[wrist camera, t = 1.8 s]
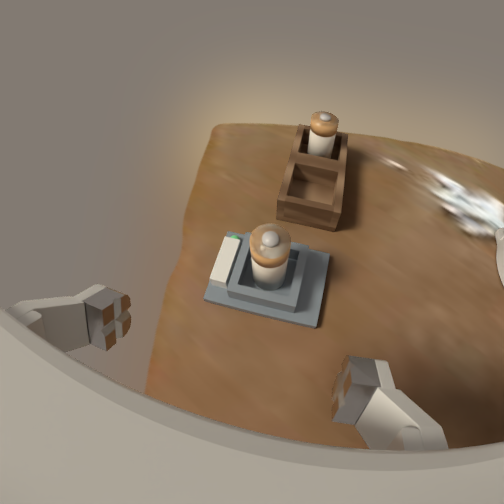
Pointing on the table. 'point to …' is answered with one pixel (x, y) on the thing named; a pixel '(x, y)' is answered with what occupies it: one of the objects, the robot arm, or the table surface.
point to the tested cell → (269, 255)
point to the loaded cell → (322, 134)
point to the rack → (313, 184)
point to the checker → (261, 301)
